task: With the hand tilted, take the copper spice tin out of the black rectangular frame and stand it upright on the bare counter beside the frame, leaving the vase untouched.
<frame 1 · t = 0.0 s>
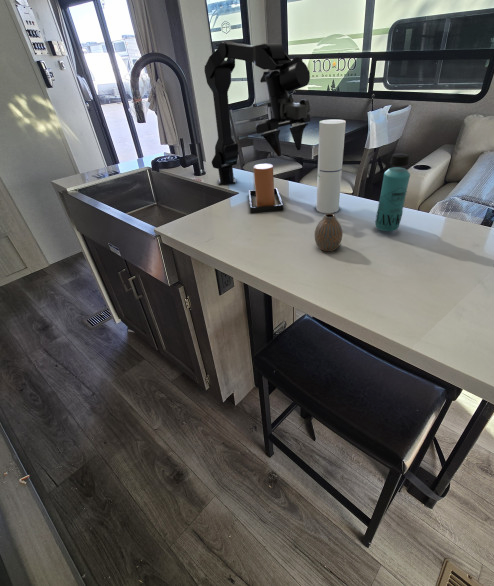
hand: (289, 153, 98), 15 cm above the kitchen counter, tool pointing down, fingers open, 9 cm apart
beverage bottle: (386, 232, 86), on the kitchen counter
vase: (327, 248, 80), on the kitchen counter
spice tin: (266, 206, 104), resting in black rectangular frame
cylindrical container: (327, 209, 100), on the kitchen counter
black rectangular frame: (265, 202, 107), on the kitchen counter
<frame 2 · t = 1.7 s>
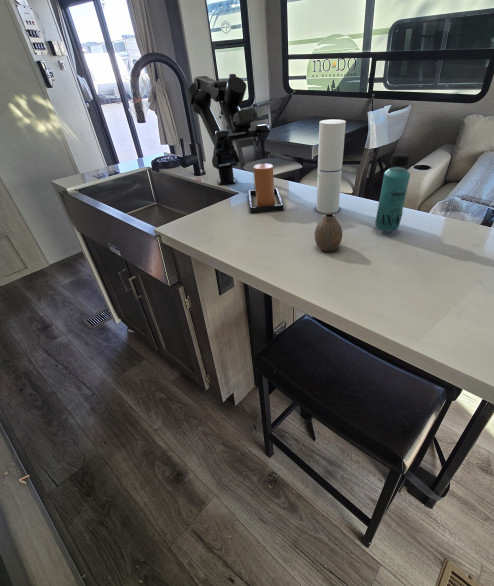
hand: (251, 159, 101), 13 cm above the kitchen counter, tool tilted 45°, fingers open, 9 cm apart
nothing on the kitchen counter moved.
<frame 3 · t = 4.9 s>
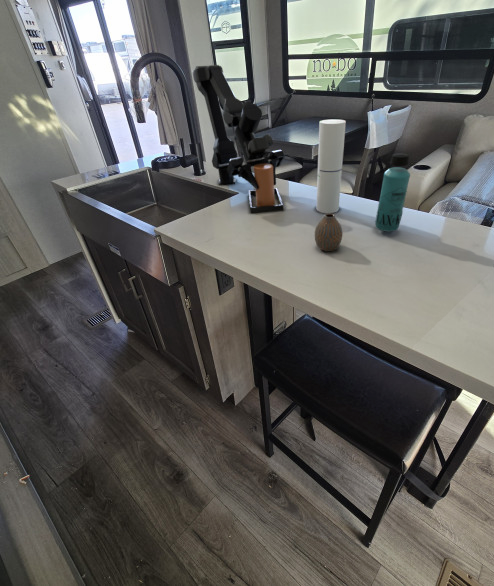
hand: (266, 186, 98), 7 cm above the kitchen counter, tool tilted 45°, fingers closed on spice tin, 6 cm apart
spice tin: (266, 206, 104), resting in black rectangular frame, touching gripper
everything else where it was.
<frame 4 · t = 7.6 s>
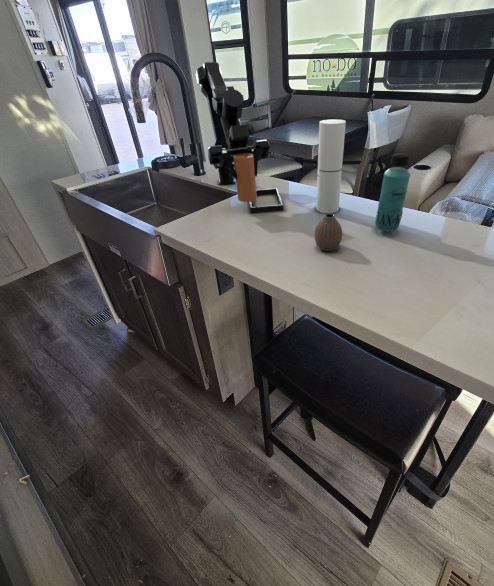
hand: (246, 177, 95), 11 cm above the kitchen counter, tool tilted 45°, fingers closed on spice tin, 6 cm apart
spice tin: (247, 198, 100), point 4 cm above the kitchen counter, touching gripper
everything else where it was.
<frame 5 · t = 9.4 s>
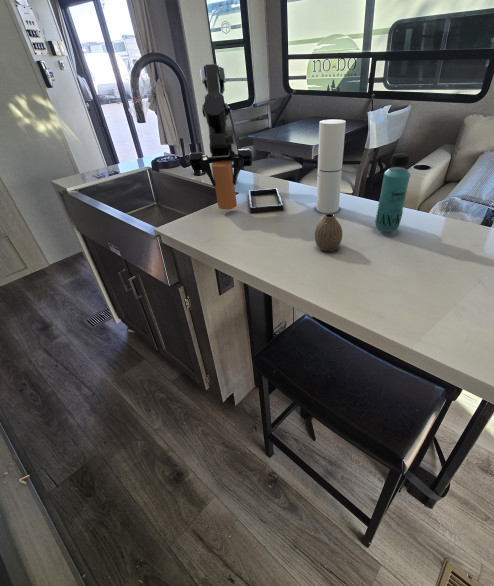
hand: (224, 185, 95), 9 cm above the kitchen counter, tool tilted 45°, fingers closed on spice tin, 6 cm apart
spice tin: (227, 205, 100), point 2 cm above the kitchen counter, touching gripper
everything else where it was.
when the fingers open (7 cm above the kitchen counter, at t = 10.7 s): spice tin stays where it is, on the kitchen counter.
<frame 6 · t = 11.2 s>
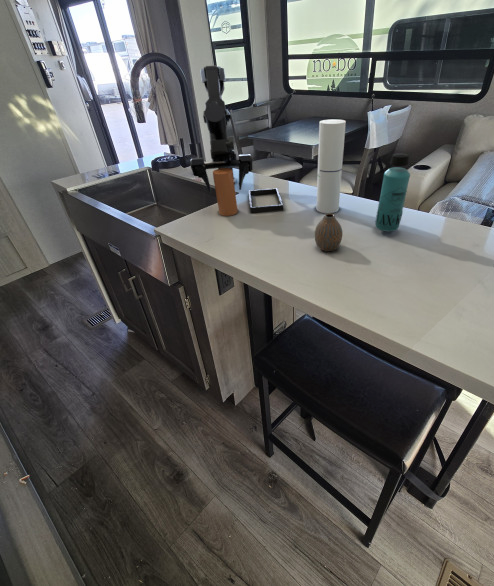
hand: (225, 190, 96), 8 cm above the kitchen counter, tool tilted 45°, fingers open, 9 cm apart
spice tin: (228, 212, 101), on the kitchen counter
everything else where it was.
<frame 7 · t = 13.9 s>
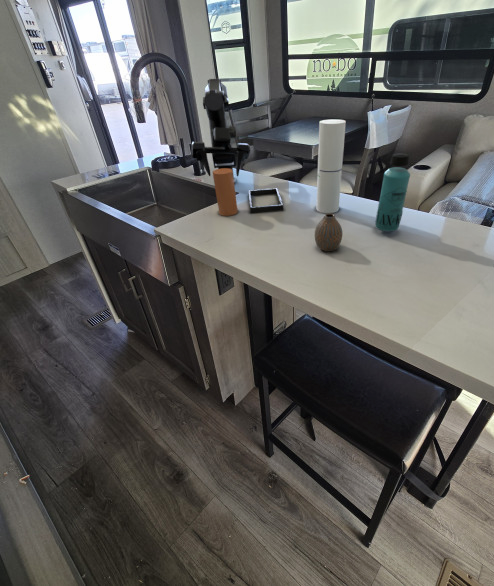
hand: (224, 175, 102), 9 cm above the kitchen counter, tool tilted 40°, fingers open, 9 cm apart
nothing on the kitchen counter moved.
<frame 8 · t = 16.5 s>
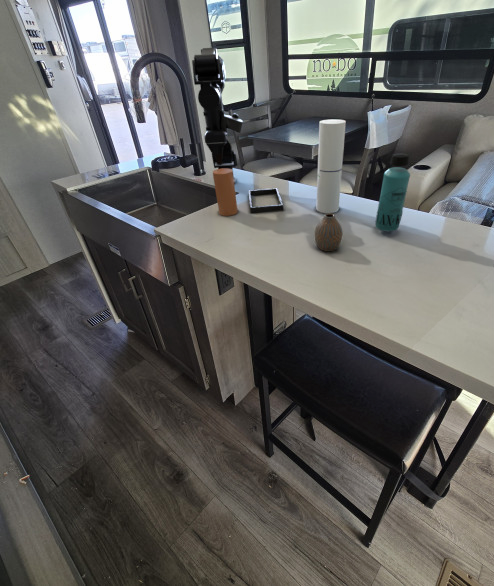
hand: (220, 161, 103), 13 cm above the kitchen counter, tool pointing down, fingers open, 9 cm apart
nothing on the kitchen counter moved.
at the end: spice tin inside the target area (0.0 cm from its centre), on the kitchen counter; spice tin tilted 0°; vase moved 0.2 cm from its start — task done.
